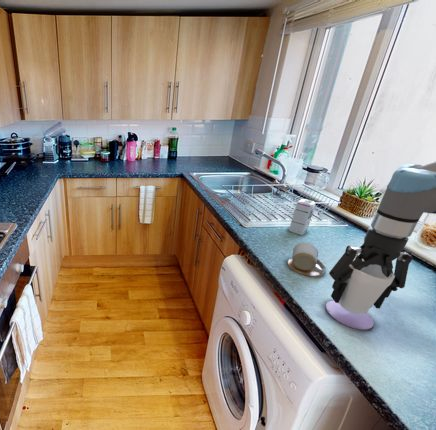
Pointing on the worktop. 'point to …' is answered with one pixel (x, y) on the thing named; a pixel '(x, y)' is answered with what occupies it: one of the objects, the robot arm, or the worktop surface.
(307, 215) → the syrup box
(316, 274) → the cork coaster
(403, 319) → the worktop surface
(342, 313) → the lilac coaster
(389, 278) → the foam cup
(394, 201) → the robot arm
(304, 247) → the ceramic mug
